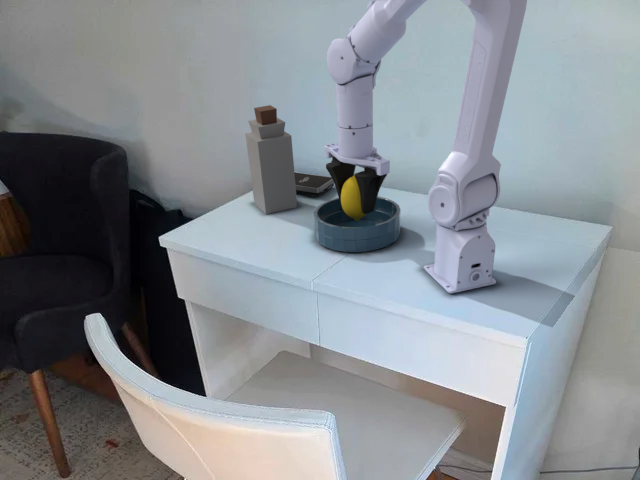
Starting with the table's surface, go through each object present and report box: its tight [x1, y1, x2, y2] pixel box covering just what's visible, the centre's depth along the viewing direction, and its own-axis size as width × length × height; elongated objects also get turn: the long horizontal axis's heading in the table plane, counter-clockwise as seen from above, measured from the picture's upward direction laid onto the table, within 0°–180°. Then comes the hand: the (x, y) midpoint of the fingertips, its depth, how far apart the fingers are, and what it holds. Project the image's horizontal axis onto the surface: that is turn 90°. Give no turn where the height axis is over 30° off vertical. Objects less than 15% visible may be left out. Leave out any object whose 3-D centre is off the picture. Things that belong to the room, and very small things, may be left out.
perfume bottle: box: [245, 104, 298, 215], centre depth 118 cm, size 7×7×18 cm
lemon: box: [341, 176, 366, 221], centre depth 106 cm, size 6×6×8 cm
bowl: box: [313, 195, 402, 253], centre depth 109 cm, size 15×15×4 cm
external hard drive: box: [294, 171, 335, 197], centre depth 129 cm, size 7×11×2 cm, turn 59°
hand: (357, 207), depth 107 cm, fingers closed on lemon, 5 cm apart
